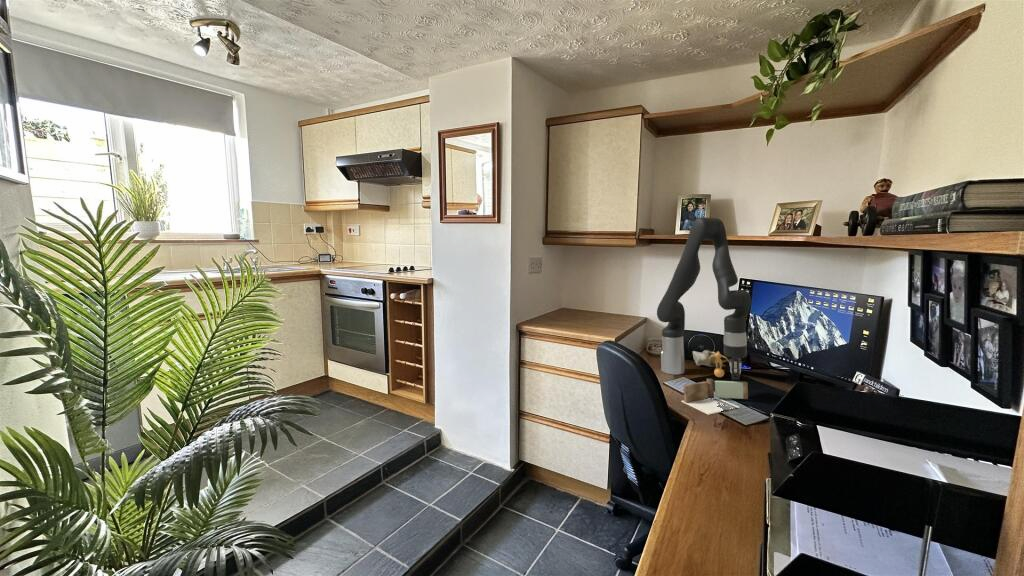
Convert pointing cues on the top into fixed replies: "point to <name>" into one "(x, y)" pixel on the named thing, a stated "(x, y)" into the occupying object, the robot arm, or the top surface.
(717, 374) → the figurine
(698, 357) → the ceramic sculpture
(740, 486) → the top surface
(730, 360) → the robot arm
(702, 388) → the fence post and fixed panel
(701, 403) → the card
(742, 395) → the panel
